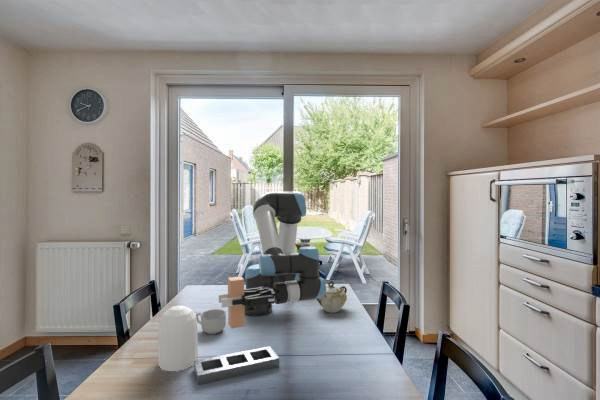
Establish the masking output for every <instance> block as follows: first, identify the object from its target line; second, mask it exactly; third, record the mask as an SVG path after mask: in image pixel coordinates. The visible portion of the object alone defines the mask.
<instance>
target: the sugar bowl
mask: <svg viewBox="0 0 600 400" xmlns="http://www.w3.org/2000/svg"><path fill="white" fill-rule="evenodd" d="M334 285H335V282H334V281H332V280H331V281H328V286H326V294H325V295H324V296H323V297H321V298H317V299H316V301H317V302H318V303H319V305H320V306H321V308H322V309H323V310H324V311H325V312H327V313H331V314H332V313H338V312H341V310H342V308H343V307H344V305H345V304H346V302H347V297H348V295H347V291H348V289H347V287H346V286H344V285H342V286H340V287H337V286H334Z"/></svg>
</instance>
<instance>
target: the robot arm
mask: <svg viewBox="0 0 600 400" xmlns="http://www.w3.org/2000/svg"><path fill="white" fill-rule="evenodd" d="M252 215H253V219H254V220H255V221H256V223H257V229H258V234H259V240H260V245H261V249H262V254H261V255H260V256H259V259H258V260H259V261H258V262H259V263H256V264H253V265H250V266H248V267H247V268H246V269H245V276H244V278H245V288H244V295H242V297H241V296H239V297H232V298H228V292H227V293H221V294H218V303H219V304H221V308H228V307H230V306H237V305H244V306H245V316H250V317H251V316H254V317H256V316H265V315H268V314H270V313H272V312H273V304H276V305H283V304H287V303H291V304H294V302H301V301H308V300H309V301H310V300H317V298H321V297H323V296H324V295H325V294H326V287H327V286H326V281H325V280H324V278H323V277H320V255H319V249H318V247H315V246H307V247H300V248H299V251H298V253H297V252H295V249H296V245H295V243H296V244H297V233H298V232H297V231H298V224H300V223H301V221H302V217H305V216H306V215H307V204H306V198H305V196H304V194H303V192H301V191H293V190H292V191H269V192H266V193H264V194H262V195H261V196H259V197H258V199H257V200H256V201H255V203H254V205H253V209H252ZM275 218H276V219H275ZM276 220H277V221H278V222H279V227H277V223H276ZM298 279H299V280H298Z"/></svg>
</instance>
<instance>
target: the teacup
mask: <svg viewBox="0 0 600 400" xmlns="http://www.w3.org/2000/svg"><path fill="white" fill-rule="evenodd" d="M195 315H196V319H197V324H199V325H200V326H201V329H202V331H203V332H204V333H206V334H208V335H215V334H219V333H220V332H222V331H223V330H224V329H225V328H226V321H227V318H226V317H227V316H226V315H227V312H226V311H225V310H223V309H219V308H214V309H213V308H211V309H208V310H205V311H203V312H197V313H195ZM199 316H200V318H199Z"/></svg>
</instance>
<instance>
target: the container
mask: <svg viewBox="0 0 600 400" xmlns="http://www.w3.org/2000/svg"><path fill="white" fill-rule="evenodd" d="M198 339H199V338H198V322H197V319H196V313H195V312H194V311H193V310H192V309H191V308H189V307H188V306H185V305H174V306H171V307H170V308H169V309H167V310H166V311H164V312H163V314H162V315H161V317H160V318H159V322H158V327H157V345H158V347H157V349H158V353H157V354H158V367H159V366H160V368H161V369H164V370H168V371H176V372H180V371H179V370H182V371H184V370H183V369H185V370H188V369H190V368H192V367H194V366H193V365H194V361H196V360H199V354H198V352H199V350H198V345H199V344H198V343H199V342H198ZM191 366H192V367H191ZM189 367H190V368H189ZM160 368H159V369H160ZM187 368H188V369H187ZM161 369H160V370H161Z"/></svg>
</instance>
